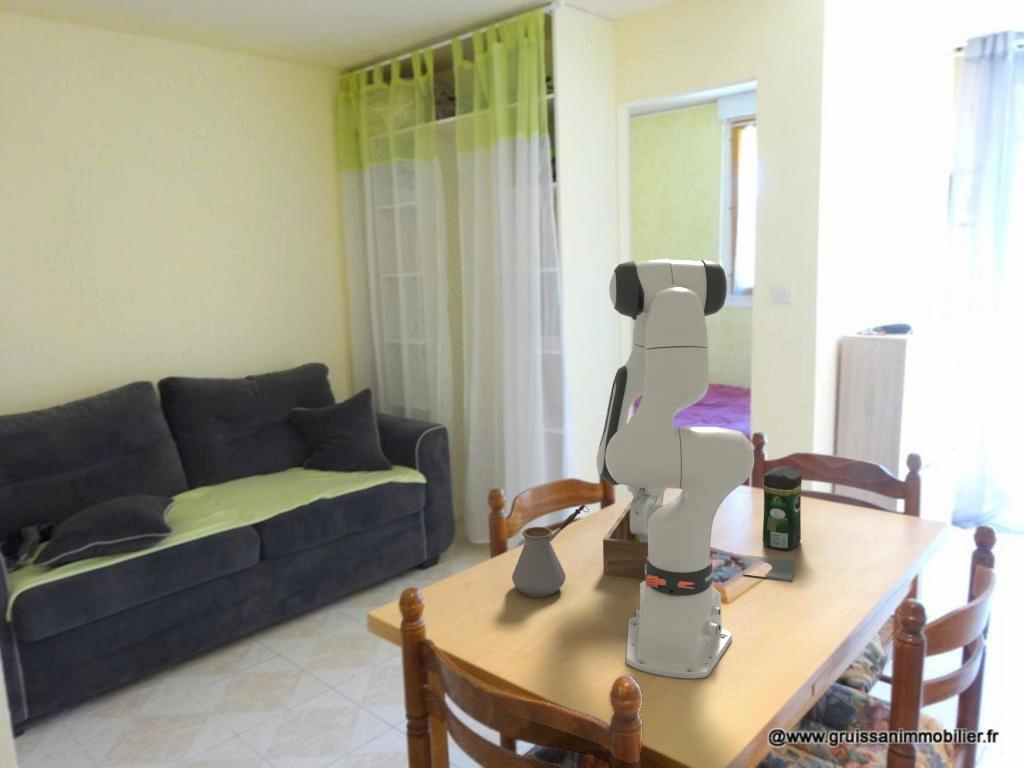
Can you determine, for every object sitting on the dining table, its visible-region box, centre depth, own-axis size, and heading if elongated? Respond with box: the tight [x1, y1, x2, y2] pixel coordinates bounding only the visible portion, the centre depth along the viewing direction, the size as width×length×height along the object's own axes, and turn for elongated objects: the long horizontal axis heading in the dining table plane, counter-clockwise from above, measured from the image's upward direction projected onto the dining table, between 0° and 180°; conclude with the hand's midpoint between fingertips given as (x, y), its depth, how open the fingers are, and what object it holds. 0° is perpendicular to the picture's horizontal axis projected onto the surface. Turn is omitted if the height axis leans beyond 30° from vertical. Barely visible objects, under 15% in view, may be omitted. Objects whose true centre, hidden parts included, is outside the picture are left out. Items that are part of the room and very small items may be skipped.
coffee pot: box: [511, 504, 590, 598], centre depth 158 cm, size 21×12×15 cm, turn 133°
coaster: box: [746, 555, 794, 582], centre depth 161 cm, size 10×10×1 cm
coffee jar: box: [762, 465, 802, 551], centre depth 174 cm, size 10×8×19 cm
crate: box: [602, 502, 665, 580], centre depth 171 cm, size 26×14×8 cm, turn 158°
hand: (647, 539), depth 171 cm, fingers closed on supplement bottle, 5 cm apart
